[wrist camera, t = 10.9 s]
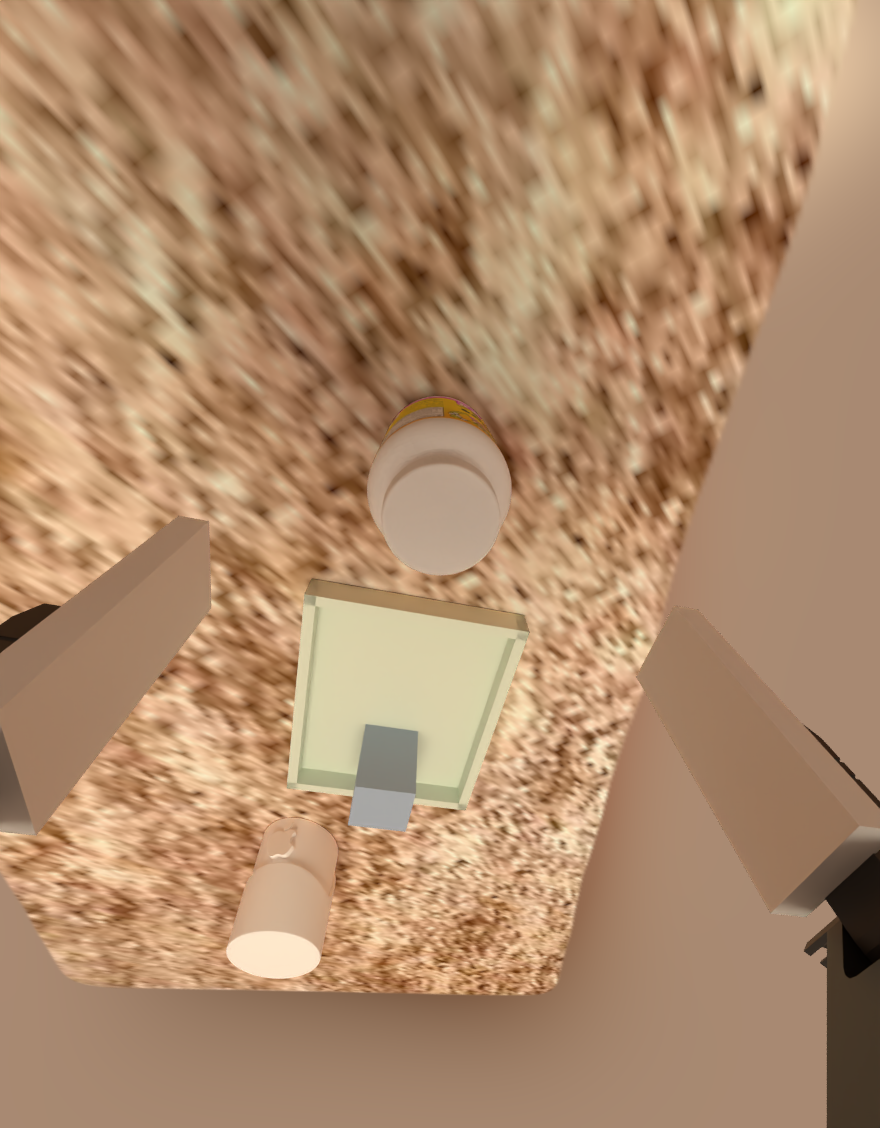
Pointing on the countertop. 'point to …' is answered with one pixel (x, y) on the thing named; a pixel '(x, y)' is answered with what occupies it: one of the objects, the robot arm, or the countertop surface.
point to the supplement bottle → (439, 487)
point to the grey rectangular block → (385, 778)
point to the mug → (286, 901)
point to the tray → (399, 686)
